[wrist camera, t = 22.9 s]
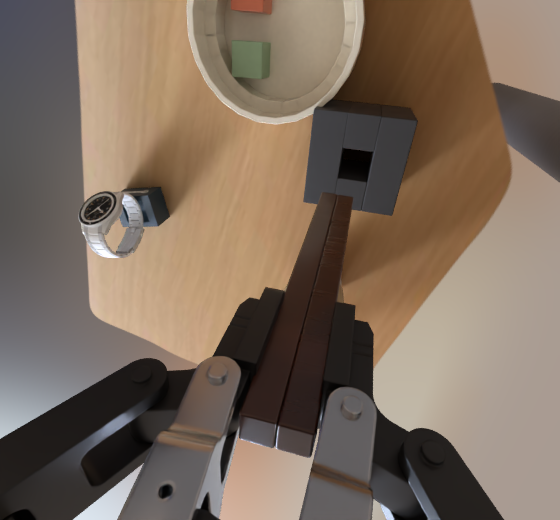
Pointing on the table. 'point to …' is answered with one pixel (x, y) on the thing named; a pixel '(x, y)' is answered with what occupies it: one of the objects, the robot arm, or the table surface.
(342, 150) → the stand
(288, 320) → the chopsticks
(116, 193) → the watch
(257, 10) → the terracotta block
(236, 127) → the table surface
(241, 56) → the sage block
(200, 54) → the bowl
